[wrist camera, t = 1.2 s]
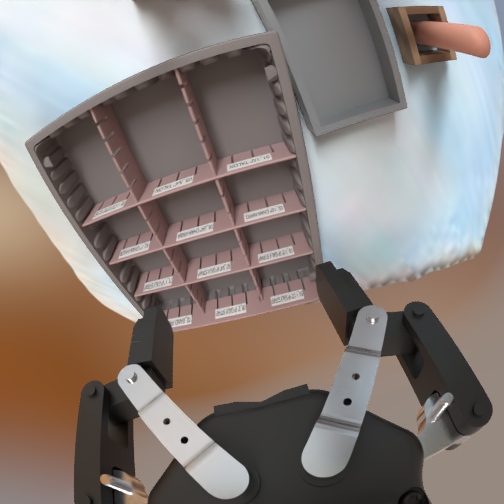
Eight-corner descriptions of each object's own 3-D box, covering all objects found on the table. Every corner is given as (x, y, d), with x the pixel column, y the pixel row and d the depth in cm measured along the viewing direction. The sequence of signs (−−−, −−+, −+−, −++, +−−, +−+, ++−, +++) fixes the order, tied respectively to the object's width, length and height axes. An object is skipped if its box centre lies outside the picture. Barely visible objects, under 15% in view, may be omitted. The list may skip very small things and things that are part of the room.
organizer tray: (266, 34, 27) (281, 28, 19) (315, 262, 53) (329, 303, 45) (52, 123, 30) (15, 149, 22) (160, 299, 56) (154, 340, 49)
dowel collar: (386, 8, 23) (397, 7, 21) (430, 6, 21) (442, 6, 19) (403, 62, 28) (415, 65, 26) (444, 56, 27) (456, 59, 24)
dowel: (404, 21, 24) (466, 26, 14) (424, 20, 23) (486, 27, 13) (411, 45, 27) (473, 58, 17) (430, 43, 26) (492, 57, 16)
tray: (249, -2, 23) (252, -8, 20) (349, -24, 20) (362, -29, 17) (307, 128, 36) (316, 136, 32) (392, 101, 33) (407, 108, 30)
